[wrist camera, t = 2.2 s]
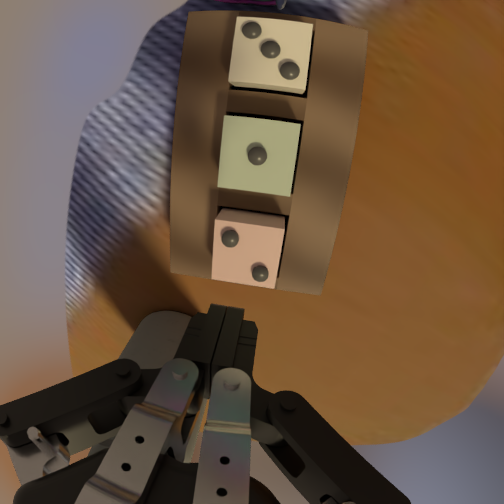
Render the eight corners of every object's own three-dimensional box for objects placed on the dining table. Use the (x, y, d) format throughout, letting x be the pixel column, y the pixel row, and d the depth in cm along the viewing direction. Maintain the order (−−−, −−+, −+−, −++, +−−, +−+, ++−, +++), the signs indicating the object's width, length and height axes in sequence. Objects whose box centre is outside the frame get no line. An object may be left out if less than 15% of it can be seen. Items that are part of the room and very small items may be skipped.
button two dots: (222, 208, 20) (213, 220, 18) (284, 216, 20) (284, 231, 18) (218, 262, 22) (210, 281, 20) (275, 271, 22) (274, 291, 19)
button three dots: (242, 28, 15) (236, 15, 12) (309, 35, 14) (313, 22, 12) (235, 86, 16) (226, 80, 14) (302, 94, 16) (305, 89, 14)
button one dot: (231, 116, 17) (223, 115, 15) (298, 124, 17) (301, 124, 15) (225, 179, 19) (216, 188, 17) (289, 187, 19) (290, 198, 17)
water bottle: (129, 301, 30) (-2, 522, 4) (213, 305, 28) (116, 599, 3) (153, 364, 34) (74, 553, 9) (225, 372, 33) (173, 593, 8)
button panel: (203, 27, 17) (188, 11, 14) (354, 44, 17) (368, 30, 13) (185, 251, 26) (170, 272, 22) (316, 270, 26) (320, 295, 22)
